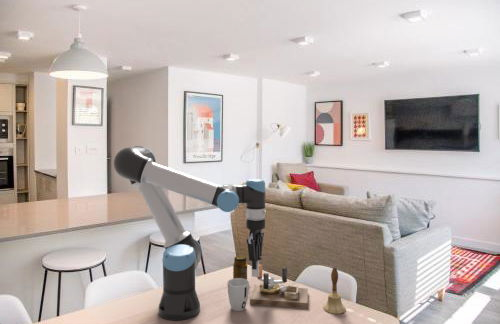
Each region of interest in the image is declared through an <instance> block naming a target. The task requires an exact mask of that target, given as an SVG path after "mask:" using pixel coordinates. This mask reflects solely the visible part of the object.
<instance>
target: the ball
mask: <svg viewBox="0 0 500 324" xmlns="http://www.w3.org/2000/svg"><path fill="white" fill-rule="evenodd" d="M279 292H280V293H282V294H284V293H285V292H287V288H286V285H279Z"/></svg>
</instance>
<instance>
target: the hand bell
mask: <svg viewBox="0 0 500 324" xmlns="http://www.w3.org/2000/svg"><path fill="white" fill-rule="evenodd" d="M330 276H331V277H330V278H331V283H332V287H331V290H332V291H331V293H329V294H328V298H327V301H326V303H325V304H324V305H323V308H322V309H323V310H324V312H326V313H329V314H333V315H340V314H344V313H345V312H346V306H344V305H343V303H342V298H341V294H339V293H338V287H337V285H338V281H339V272H338V269H337V267H336V266H334V267H332V270H331V274H330Z"/></svg>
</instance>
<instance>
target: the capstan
mask: <svg viewBox="0 0 500 324" xmlns="http://www.w3.org/2000/svg"><path fill="white" fill-rule="evenodd" d="M256 278H257V280H258V281H261V282H262V283H260V284H259V285H260V292H262V293H264V294H276V293H278V292H279V287H280V284H286V283H287V282H288V267H285V266H283V267H282V268H281V279H276V280H275V277H273V276H270V275H269V273H267V272H265V273H264V272H263V264H260V263H259V277H256Z"/></svg>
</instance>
